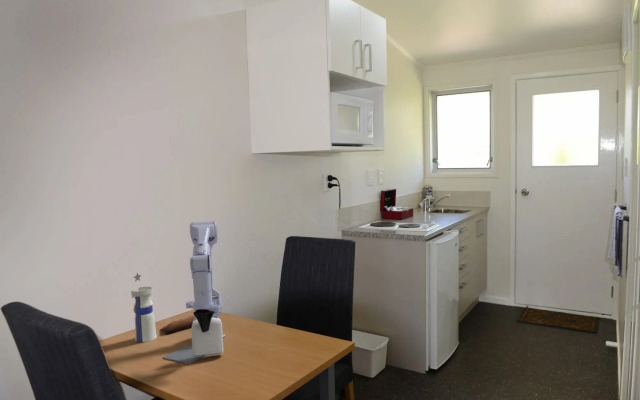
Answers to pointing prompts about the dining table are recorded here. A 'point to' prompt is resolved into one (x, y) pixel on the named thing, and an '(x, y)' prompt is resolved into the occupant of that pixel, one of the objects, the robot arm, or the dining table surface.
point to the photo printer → (207, 339)
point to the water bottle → (144, 314)
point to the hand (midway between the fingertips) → (205, 331)
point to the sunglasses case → (178, 325)
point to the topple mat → (183, 355)
